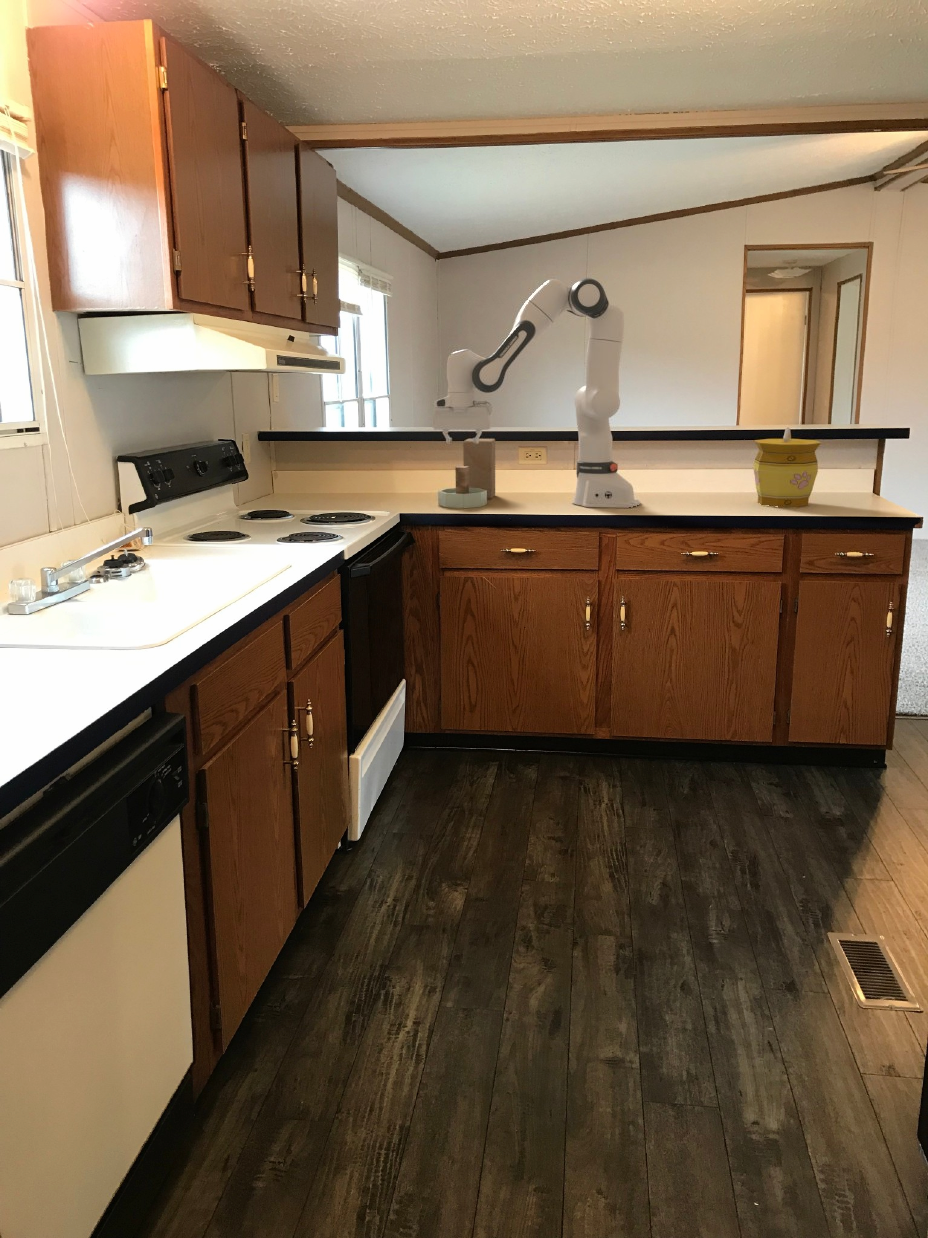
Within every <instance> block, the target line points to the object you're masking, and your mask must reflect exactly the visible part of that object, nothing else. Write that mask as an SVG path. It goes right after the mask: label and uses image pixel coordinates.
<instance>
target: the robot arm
mask: <svg viewBox="0 0 928 1238" xmlns="http://www.w3.org/2000/svg"><path fill="white" fill-rule="evenodd" d="M566 311H567V313H571V314H573V315H575V316H577V317H580V318H581V317H585V318H586V317H587V319H588V321H589V332H588V333H589V334H588V339H587V347H586V353H585V354H586V355H585V361H584V366H585V376H586V377H585V380H586V381H585V382H586V383H585V385H583V386H582V387H580V388H579V389H578V390H577V392H576V393H575V395H574V397H573V398H574V399H573V400H574V407H575V414H576V415H575V417H576V425H577V430H578V431H577V434H578V456H577V457H578V459H577V461H576V467H575V468H576V473H575V474H576V479H577V480H576V486H575V493H574V497H573V500H572V504H575V505H578V506H583V507H584V508H617V509H618V508H625V509H626V508H627V509H628V508H629V507H631V508H634V507H633V506H636V507H638V506H637V505H639V504H640V503H641V500H640V499H638V498H635V493H634V492H635V491H634V487H633V485H632V483H630V482H629V481H628V480H626V479H625V478H624V477H623V476H622V475H620V474H619V473H618V467H619V464H618V462H617V463H616V462H615V461H613V458H612V457H613V456H612V455H613V435H612V431H611V425H610V419H609V418H612V417H614V416H615V415H616V413H617V412H618V411H619V409H620V405H621V398H620V379H619V378H620V377H619V375H620V373H619V371H620V363H621V355H622V349H623V341H624V334H625V333H624V331H625V330H624V329H625V318H624V312H623V310H622V309H621V308H620V307H618V306H616V305H614V304H610V302H609V299H608V297H607V295H606V291H605V288H604V286H603V285H602V283H601V282H600V281H598V280H596V279H594V278H589V277H587V278H583V279H580V280H578V281H577V282H575V283H574V284H573V285H571V286H568V285H566V284H565V283H563V281H561V280H559V279H555V278H552V279H548V280H547V281H545V282H544V283H543V284H542V285H541V286H539V287H538V288H537V289H536V290H535V291H534V293H532V294H531V295H530V296H529V298H528V300H526V301H525V303H524V304H523V305H522V306H521V308H520V309H519V311H518V313H517V316H515V319H514V322H513V325H512V329H511V331H510V332H509V334H508V336H507V337H506V338H505V340H504V341H503V342H502V343H501V344H500V346H499V347H498V348H497V349H496V350H495V351H494V352H493V353H492V355H490V356H489V357H488V358H486V357H483V356H480V355H479V354H477V353H475V352H473V351H472V350H471V349H467V348H466V349H461V350H458V351H457V350H456V351H453V352H451V353H450V354H449V356H448V357H447V362H446V363H447V364H446V379H447V383H448V386H447V396H444V397H442V398H439V399H435V400H434V401H433V406H434V409H433V410H432V414H431V426H432V428H433V430H437V431H438V430H440V431H441V430H442V434H443V436H444V438H445V442H446V444H450V445H451V444H452V443H453V438H452V437H450V435H449V434H448V433H449V432H450V430H451V431H452V430H453V431H454V430H456V431H458V430H461V431H463V430H464V431H465V430H466V431H467V430H471V431H475V434H476V436H475V437H473V438H472V439H473V444H478V443H479V439H480V436H482V433H483V430H484V431H485V430H486V431H487V430H490V429H491V428H492V427H493V421H492V420H493V419H492V414H491V413H492V404H491V402H488V401H487V400H476V399H475V390H476V389H477V390H478V391H480V392H481V393H487V394H488V393H494V392H495V391H497V390H498V389H500V387H501V386H502V385H503V383H504V380H505V376H506V372H507V370H508V369H509V367H510V366H511V365H512V363H514V361H515V360H516V358H517V357H519V355H520V354H521V353H522V351H523V350H524V349H525V348H526V347H527V346H529V345H530V344H531V343H532V342H535V341H536V340H537V339H538V338H540V337H541V336H542V335H543V334H545V333H546V331H548V330H549V329H550V328H551V327H552V325H553V324H554V323H555V322H556V321H557V319H558V318H559V317H560V316H561V315H562V314H563V313H565V312H566ZM640 505H641V504H640ZM640 505H639V506H640Z"/></svg>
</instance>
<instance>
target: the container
mask: <svg viewBox="0 0 928 1238" xmlns="http://www.w3.org/2000/svg"><path fill="white" fill-rule="evenodd" d="M754 442H755V444H756V447H757V448H758V452H757V454H756V456H755V459H754V464H753V467H752V468H753V475H754V479H755V480H754V481H755V488H756V493H757V503H758V504H759V503H760V504H761V505H769V506H778V507H796V509H798V508H803V506H804V507H807V506H809V500H810V499H809V498H810V496H811V493H812V492H813V488H814V485H815V481H816V478H817V476H818V472H819V469H818V468H819V467H818V464H819V463H818V459H817V456H816V451H817V449H818V448H819V446H820V445H821V444H822V442H821V441H818V440H816V439H815V440H814V439H801V438H792V434H791V428H790V427H786V428H785V430H784V435H783V437H782V438H765V439H755V440H754ZM760 504H759V505H760ZM761 505H760V506H761ZM769 506H768V507H769Z"/></svg>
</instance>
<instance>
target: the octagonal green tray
mask: <svg viewBox="0 0 928 1238" xmlns="http://www.w3.org/2000/svg"><path fill="white" fill-rule="evenodd" d="M455 492H456V487H450V488H448V487H447V488H442V489H440V490H438V491H437V502H438V503H437V505H438V506H440V507H444V508H452V509H453V508H454V509H455V508H456V509H469V508H480V507H483V506H486V505H487V504H488V502H487V501H488V499H487V490H484V489H480V488H469V492H470V493H468V494H455Z"/></svg>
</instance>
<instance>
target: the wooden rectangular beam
mask: <svg viewBox="0 0 928 1238" xmlns="http://www.w3.org/2000/svg"><path fill="white" fill-rule="evenodd" d="M455 488H456V494H468V493H469V466H463V465H462V466H461V465H459V466H455Z"/></svg>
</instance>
